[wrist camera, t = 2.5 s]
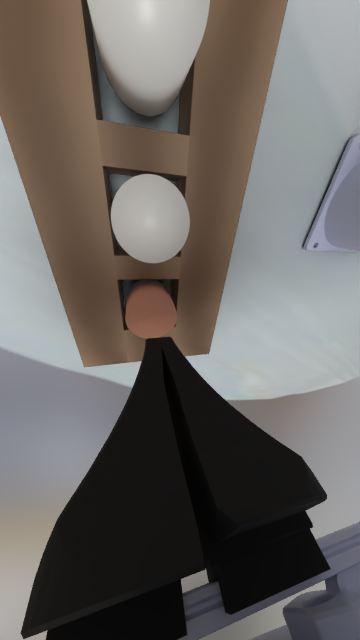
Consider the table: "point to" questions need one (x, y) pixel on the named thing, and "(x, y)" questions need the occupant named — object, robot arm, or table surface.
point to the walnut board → (133, 162)
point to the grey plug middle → (150, 218)
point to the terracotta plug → (150, 309)
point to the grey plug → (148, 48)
